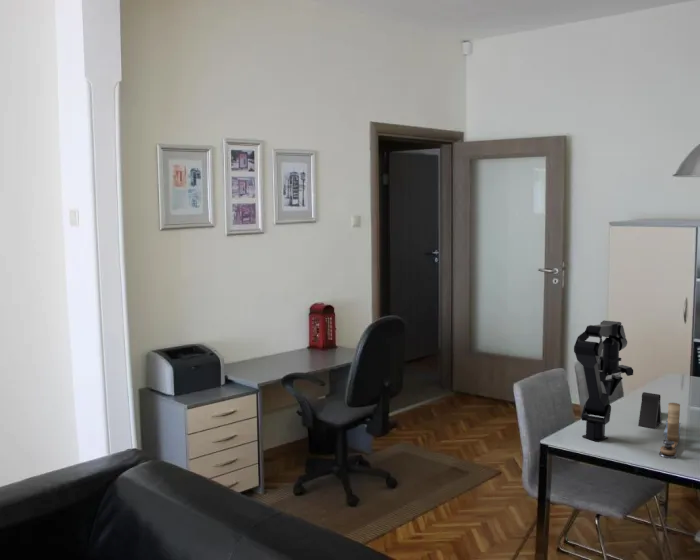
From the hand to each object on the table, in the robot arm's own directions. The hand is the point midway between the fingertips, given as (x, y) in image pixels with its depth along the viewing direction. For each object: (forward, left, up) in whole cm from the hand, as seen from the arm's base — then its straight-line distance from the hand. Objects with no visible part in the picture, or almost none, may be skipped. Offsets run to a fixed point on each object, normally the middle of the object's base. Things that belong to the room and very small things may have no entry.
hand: (609, 395), depth 269 cm
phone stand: (+16, -7, -12) cm, 21 cm away
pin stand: (-10, -30, -12) cm, 34 cm away
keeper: (+5, -23, -12) cm, 27 cm away
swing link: (-4, -28, -11) cm, 30 cm away
